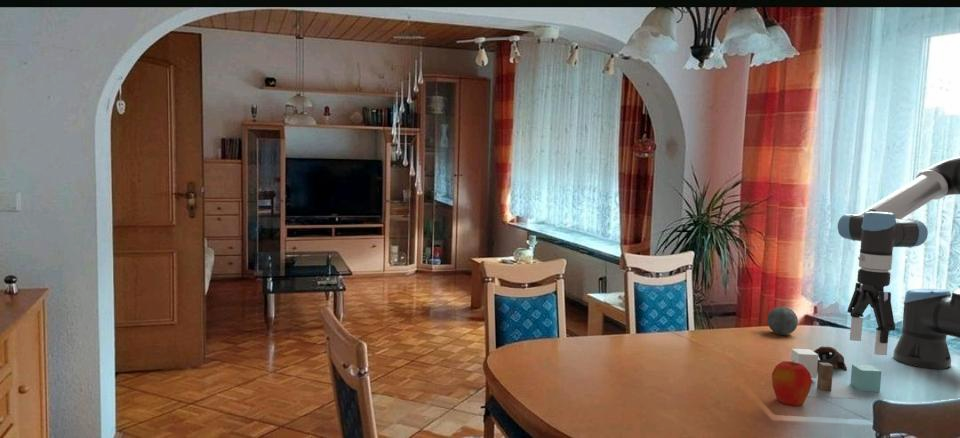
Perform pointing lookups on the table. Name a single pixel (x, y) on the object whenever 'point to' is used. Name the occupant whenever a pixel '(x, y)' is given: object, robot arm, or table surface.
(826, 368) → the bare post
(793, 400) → the apple
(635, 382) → the table surface
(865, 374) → the pale aqua cube
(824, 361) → the dark brown curved piece
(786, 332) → the decorative ball
